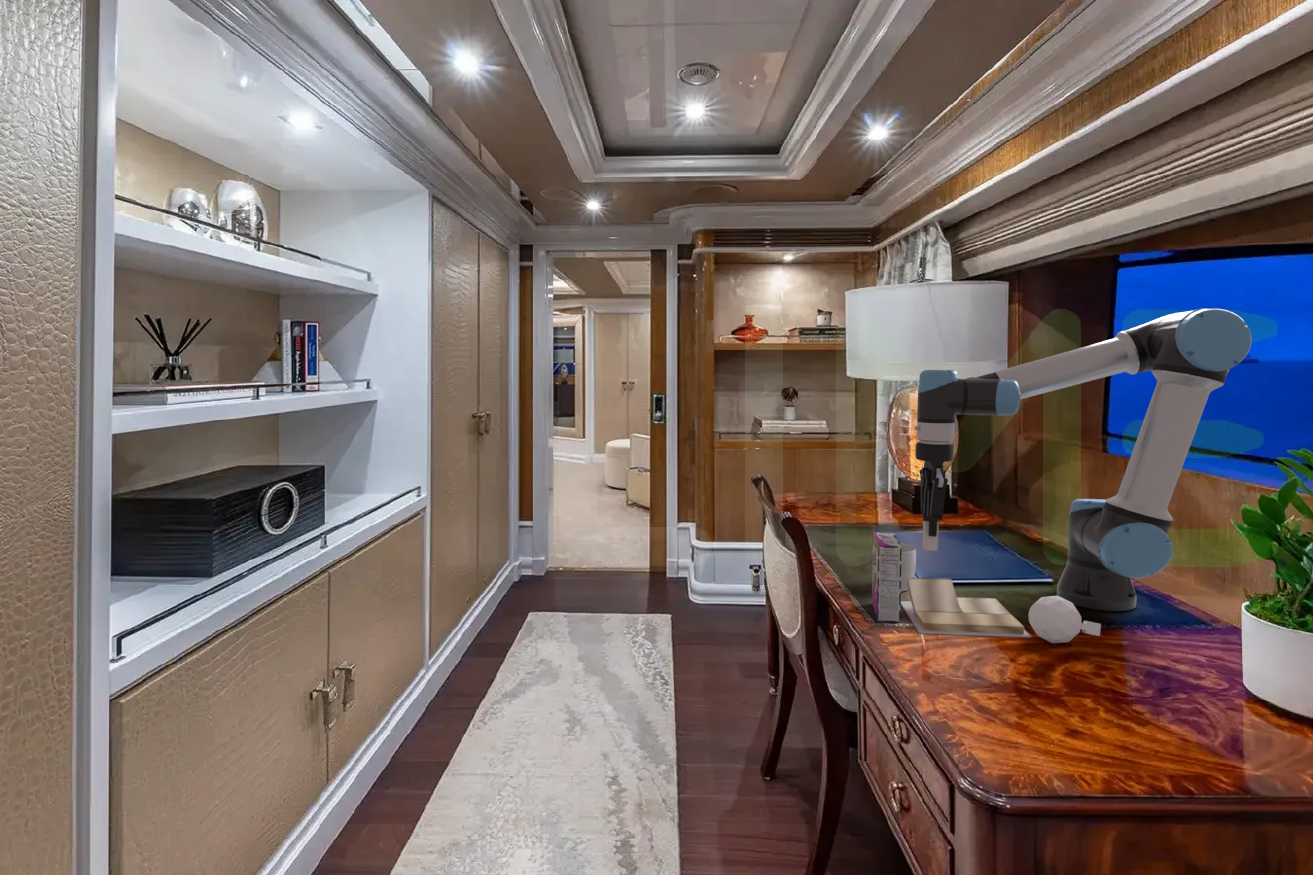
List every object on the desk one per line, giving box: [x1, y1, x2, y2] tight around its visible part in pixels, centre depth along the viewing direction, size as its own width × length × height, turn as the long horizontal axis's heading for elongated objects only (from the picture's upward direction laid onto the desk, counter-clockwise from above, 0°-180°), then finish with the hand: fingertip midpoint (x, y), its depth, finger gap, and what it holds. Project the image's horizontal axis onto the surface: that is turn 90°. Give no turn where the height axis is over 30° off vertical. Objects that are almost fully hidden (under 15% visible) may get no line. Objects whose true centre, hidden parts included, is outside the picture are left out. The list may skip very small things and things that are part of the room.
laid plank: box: [915, 611, 1025, 634], centre depth 139 cm, size 19×7×2 cm, turn 83°
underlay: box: [901, 600, 1032, 639], centre depth 144 cm, size 21×18×1 cm
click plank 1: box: [907, 577, 961, 615], centre depth 147 cm, size 9×9×1 cm
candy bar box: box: [871, 532, 902, 623], centre depth 147 cm, size 11×5×16 cm, turn 168°
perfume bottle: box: [1028, 595, 1102, 644], centre depth 131 cm, size 9×9×12 cm
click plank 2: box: [957, 596, 1012, 615], centre depth 146 cm, size 9×9×1 cm
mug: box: [899, 542, 917, 593], centre depth 165 cm, size 13×9×10 cm
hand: (929, 549), depth 149 cm, fingers closed
